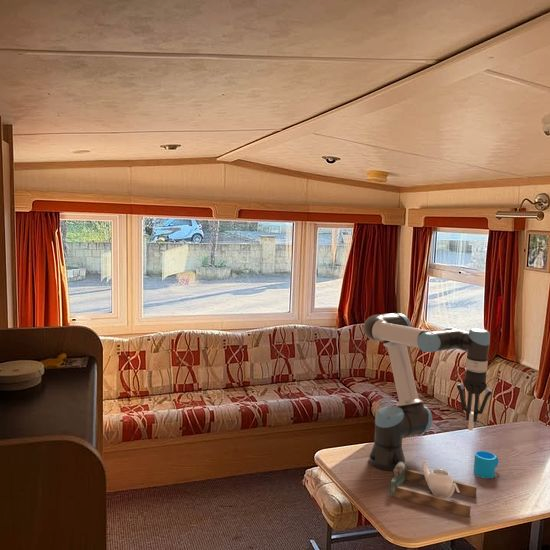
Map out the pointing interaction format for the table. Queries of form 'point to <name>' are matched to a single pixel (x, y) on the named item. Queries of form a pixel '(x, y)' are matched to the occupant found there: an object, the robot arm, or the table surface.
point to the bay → (426, 498)
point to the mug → (485, 464)
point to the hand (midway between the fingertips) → (470, 428)
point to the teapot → (439, 482)
